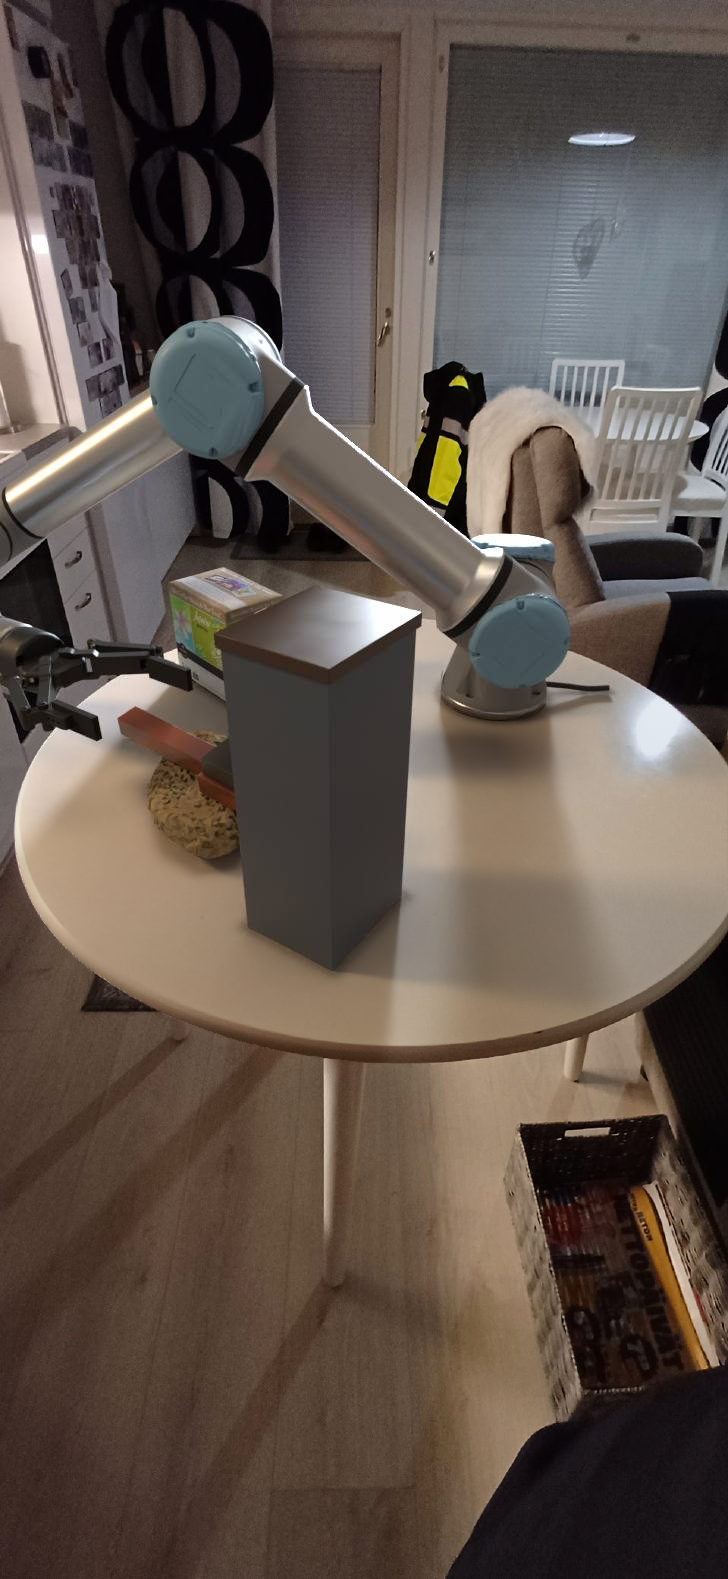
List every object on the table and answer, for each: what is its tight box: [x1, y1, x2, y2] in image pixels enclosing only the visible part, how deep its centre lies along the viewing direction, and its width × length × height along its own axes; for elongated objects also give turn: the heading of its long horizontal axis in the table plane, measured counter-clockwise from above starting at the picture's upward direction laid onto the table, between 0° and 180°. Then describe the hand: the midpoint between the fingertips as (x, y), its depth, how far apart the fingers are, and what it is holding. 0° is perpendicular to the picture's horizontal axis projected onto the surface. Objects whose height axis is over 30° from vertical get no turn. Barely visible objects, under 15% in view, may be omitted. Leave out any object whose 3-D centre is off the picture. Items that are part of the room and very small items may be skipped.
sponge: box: [146, 729, 240, 859], centre depth 87 cm, size 13×8×20 cm
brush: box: [116, 706, 236, 811], centre depth 84 cm, size 22×6×5 cm, turn 56°
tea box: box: [167, 566, 284, 703], centre depth 113 cm, size 15×10×15 cm
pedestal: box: [214, 585, 423, 972], centre depth 68 cm, size 11×13×30 cm
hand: (146, 703), depth 85 cm, fingers open, 13 cm apart
